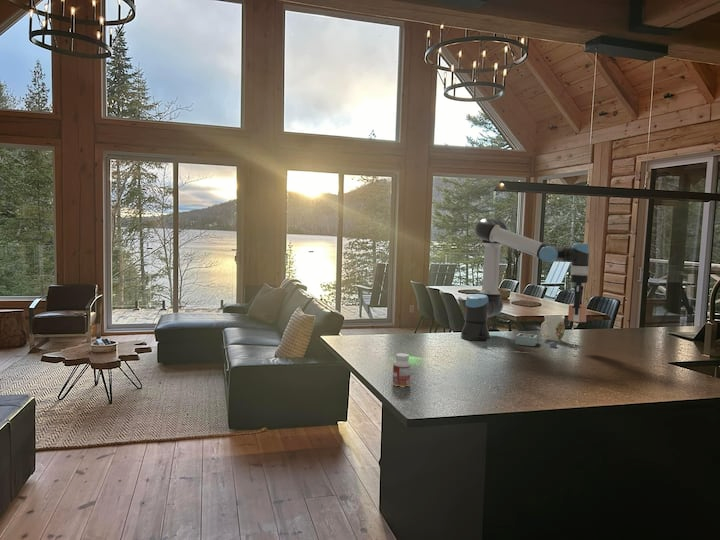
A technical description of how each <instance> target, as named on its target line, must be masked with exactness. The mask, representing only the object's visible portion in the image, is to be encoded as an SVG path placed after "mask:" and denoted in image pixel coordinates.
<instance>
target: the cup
mask: <svg viewBox="0 0 720 540" xmlns="http://www.w3.org/2000/svg"><path fill="white" fill-rule="evenodd" d="M572 306H574V303H569V304H568V312H567V313H568V314H567V315H568V316H567V321H570V322H575V323H577V322H576V321H573V314H574V308H572ZM587 306H588V305H586V304H584V303H582V304H580V316H579V322H578V323H586V322H587V310H588V309H587Z"/></svg>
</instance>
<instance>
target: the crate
mask: <svg viewBox="0 0 720 540" xmlns="http://www.w3.org/2000/svg"><path fill="white" fill-rule="evenodd" d="M522 335H530V336H531V337H525V336H522ZM537 344H538V334H531V333H521V332H520V333H517V334H516V335H515V345H521V346H530V347H535V346H536V345H537Z"/></svg>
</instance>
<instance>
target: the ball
mask: <svg viewBox="0 0 720 540" xmlns="http://www.w3.org/2000/svg"><path fill="white" fill-rule="evenodd" d="M549 348H553V349H554V348H557V343H556V341H550V343H549Z"/></svg>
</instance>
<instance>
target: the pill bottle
mask: <svg viewBox="0 0 720 540" xmlns="http://www.w3.org/2000/svg"><path fill="white" fill-rule="evenodd" d="M395 359H396V360H394V361H393V365H392V367H393V368H392V385H393V386H394V385H395V386H394V387H396V386H408V387H410V386H411V361H410V360H409V359H410V354H408V353H403V352H402V353H401V352H399V353H396V354H395Z"/></svg>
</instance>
